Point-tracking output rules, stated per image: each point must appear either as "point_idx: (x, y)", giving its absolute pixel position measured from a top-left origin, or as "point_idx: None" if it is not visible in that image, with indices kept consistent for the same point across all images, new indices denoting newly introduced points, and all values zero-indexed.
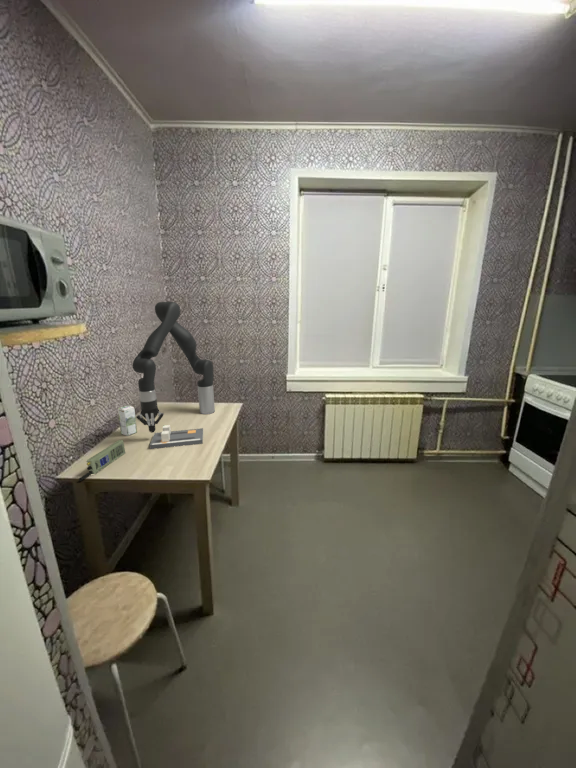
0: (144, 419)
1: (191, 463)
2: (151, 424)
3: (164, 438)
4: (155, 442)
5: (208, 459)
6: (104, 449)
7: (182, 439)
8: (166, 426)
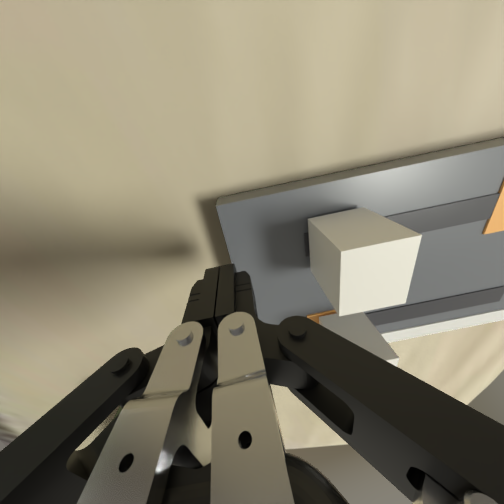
0: (70, 446)
1: None
2: (209, 321)
3: None
4: None
5: (470, 388)
6: None
7: (429, 314)
8: (377, 282)
